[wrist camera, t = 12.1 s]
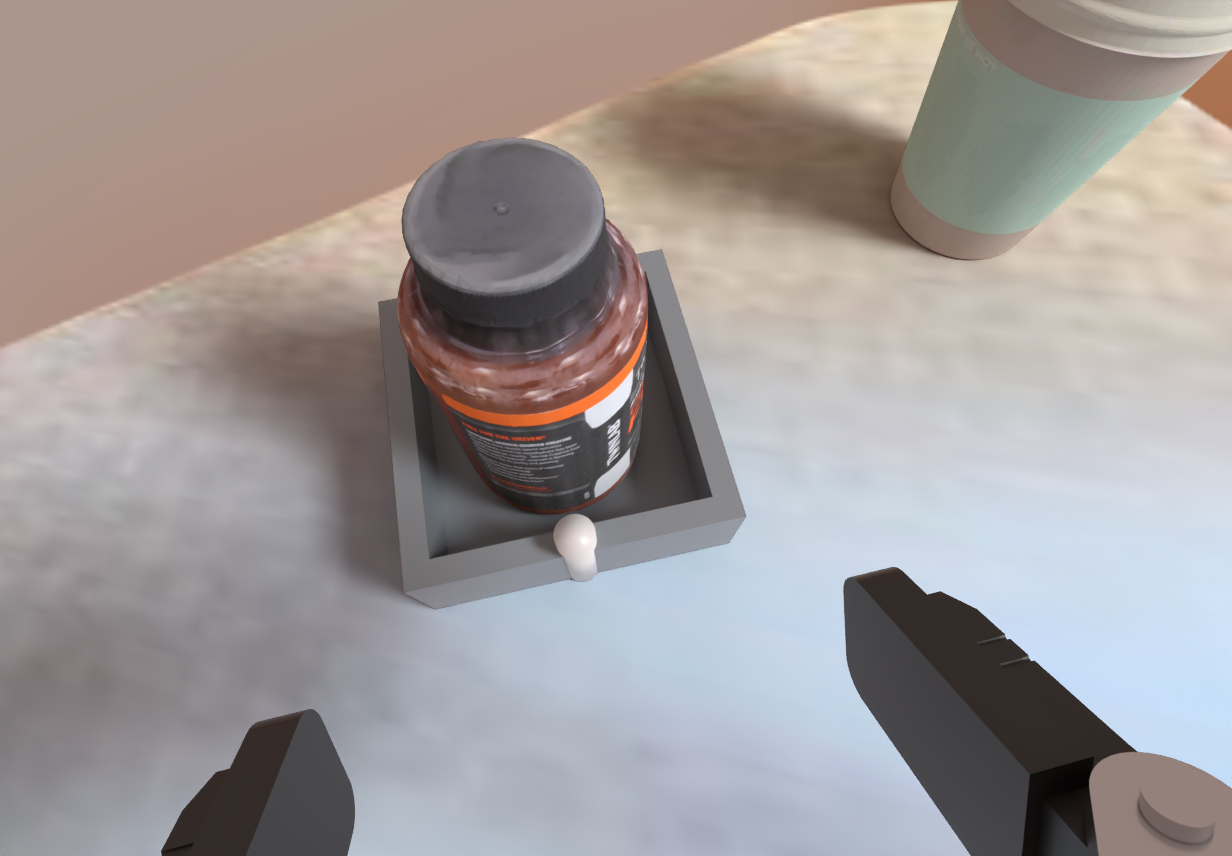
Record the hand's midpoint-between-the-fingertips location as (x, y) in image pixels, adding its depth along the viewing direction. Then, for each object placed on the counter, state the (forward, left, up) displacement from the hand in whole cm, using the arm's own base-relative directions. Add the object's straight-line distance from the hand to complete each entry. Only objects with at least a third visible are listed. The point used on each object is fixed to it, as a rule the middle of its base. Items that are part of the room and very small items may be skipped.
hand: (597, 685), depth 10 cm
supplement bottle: (0, +9, -11) cm, 14 cm away
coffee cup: (+19, +16, -11) cm, 27 cm away
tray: (0, +9, -11) cm, 14 cm away
